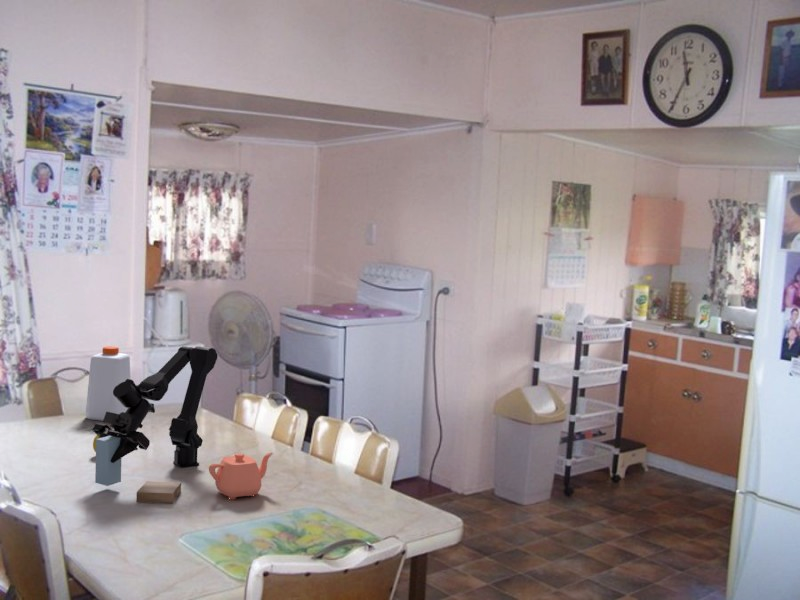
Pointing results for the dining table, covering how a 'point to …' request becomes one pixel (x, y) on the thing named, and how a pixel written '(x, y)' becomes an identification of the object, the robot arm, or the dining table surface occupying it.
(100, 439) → the blue block
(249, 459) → the teapot
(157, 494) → the walnut base
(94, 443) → the lemon
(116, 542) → the dining table surface
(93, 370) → the plastic bottle
